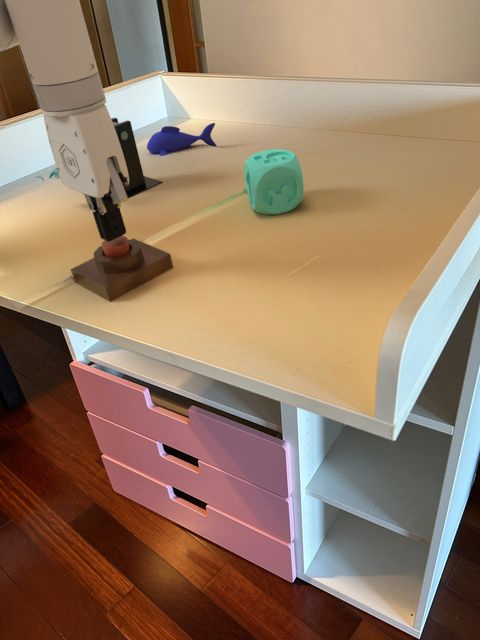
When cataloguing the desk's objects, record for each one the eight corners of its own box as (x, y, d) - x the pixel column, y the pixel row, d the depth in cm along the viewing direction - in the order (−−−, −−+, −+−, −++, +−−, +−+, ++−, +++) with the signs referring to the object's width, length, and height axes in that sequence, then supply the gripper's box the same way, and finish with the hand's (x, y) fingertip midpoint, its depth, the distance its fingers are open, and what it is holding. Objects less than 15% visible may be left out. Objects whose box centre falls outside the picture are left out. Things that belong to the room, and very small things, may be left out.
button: (114, 261, 77) (110, 250, 76) (100, 254, 79) (96, 243, 78) (135, 250, 78) (132, 239, 77) (121, 244, 81) (117, 233, 80)
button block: (110, 302, 75) (101, 276, 73) (75, 282, 81) (66, 258, 78) (173, 267, 81) (167, 242, 79) (136, 251, 86) (130, 227, 84)
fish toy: (151, 169, 119) (143, 141, 113) (148, 146, 123) (140, 119, 117) (221, 157, 120) (217, 129, 114) (215, 135, 124) (211, 107, 118)
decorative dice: (247, 200, 97) (241, 154, 92) (292, 191, 98) (288, 145, 93) (257, 219, 91) (251, 170, 86) (305, 209, 92) (302, 160, 87)
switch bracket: (120, 207, 101) (100, 134, 93) (96, 198, 105) (75, 128, 97) (164, 187, 106) (148, 117, 98) (139, 179, 111) (122, 112, 103)
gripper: (12, 97, 68) (62, 234, 79) (76, 110, 59) (122, 262, 71) (66, 81, 72) (106, 214, 83) (134, 91, 63) (169, 238, 75)
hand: (113, 236), depth 77 cm, fingers closed
